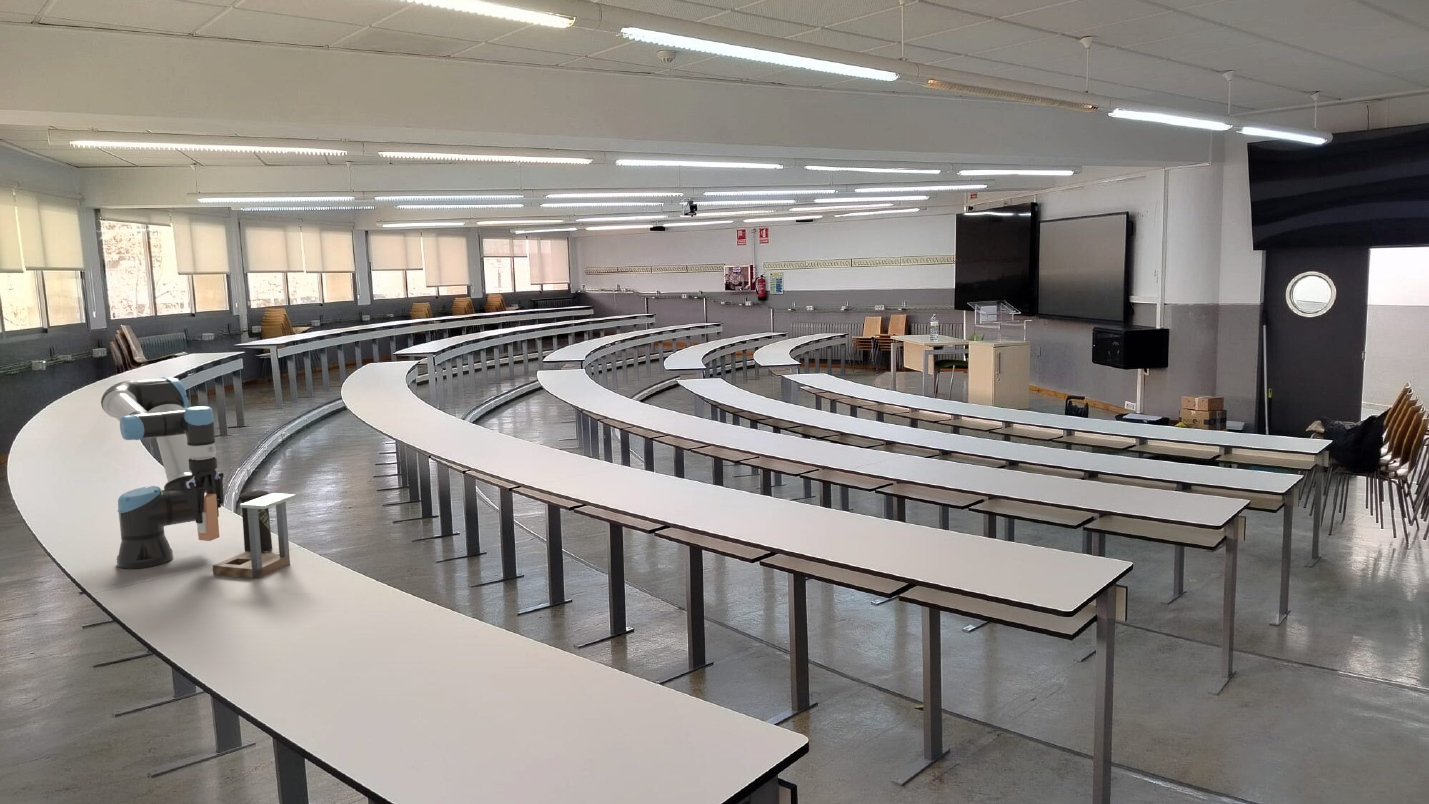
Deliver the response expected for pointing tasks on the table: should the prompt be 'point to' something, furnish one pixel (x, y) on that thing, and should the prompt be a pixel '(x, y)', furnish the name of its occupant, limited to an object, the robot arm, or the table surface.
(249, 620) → the table surface
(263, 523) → the container
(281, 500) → the white topped stool
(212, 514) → the peg
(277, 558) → the socket board
